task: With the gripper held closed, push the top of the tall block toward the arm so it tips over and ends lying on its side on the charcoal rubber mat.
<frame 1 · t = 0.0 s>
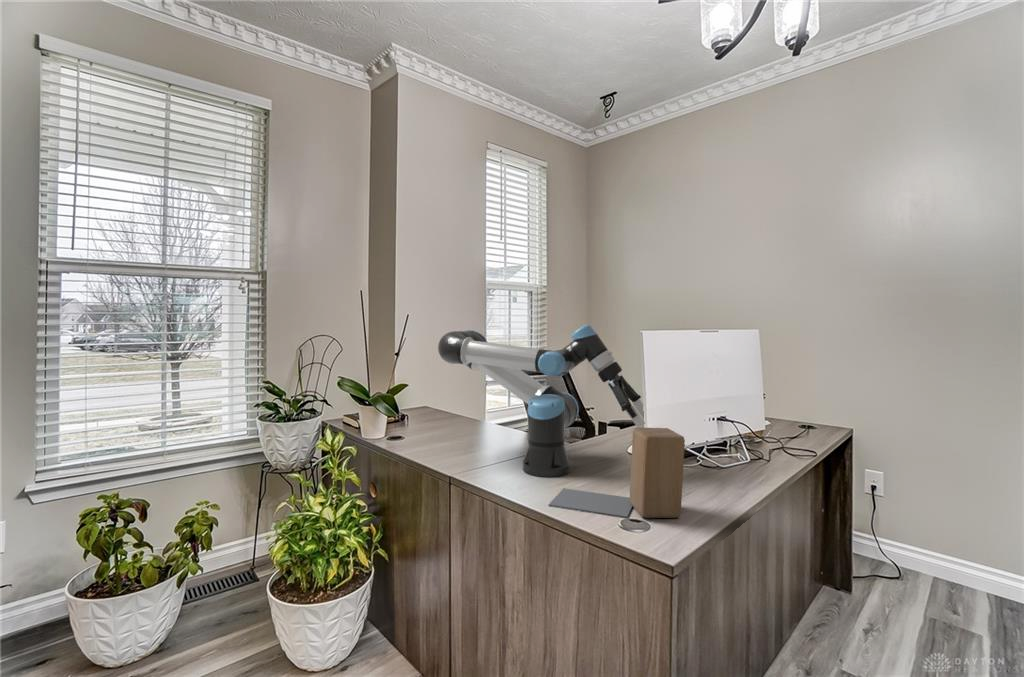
hand: (644, 421, 154), 15 cm above the table, tool tilted 35°, fingers open, 13 cm apart
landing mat: (592, 502, 125), on the table
block: (654, 511, 119), on the table, touching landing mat
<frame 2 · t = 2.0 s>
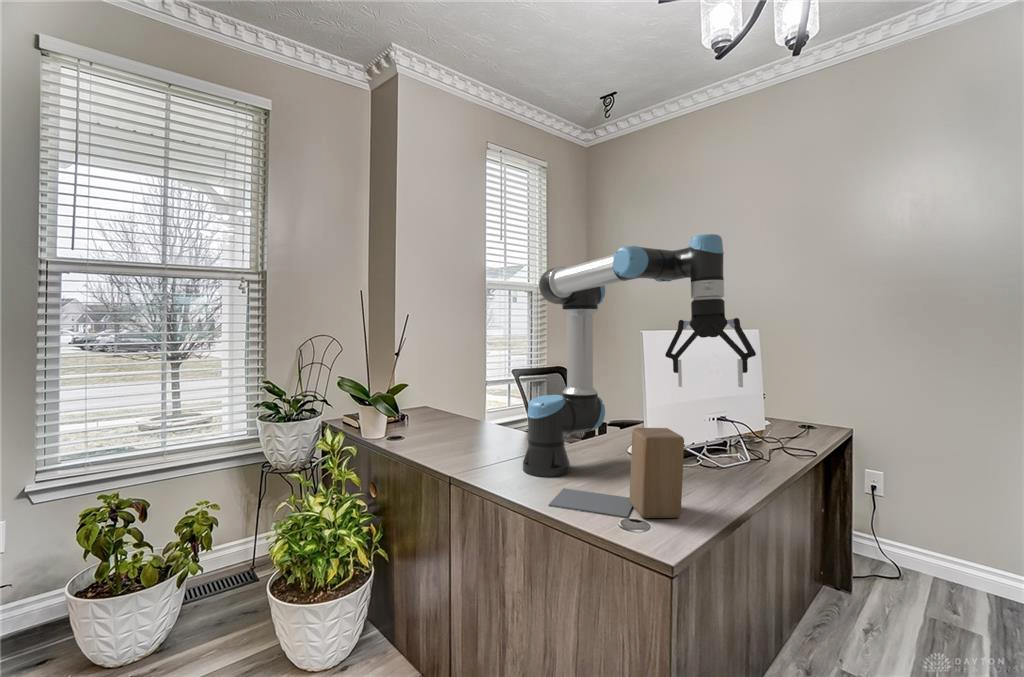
hand: (709, 386, 116), 32 cm above the table, tool pointing down, fingers open, 13 cm apart
nothing on the table moved.
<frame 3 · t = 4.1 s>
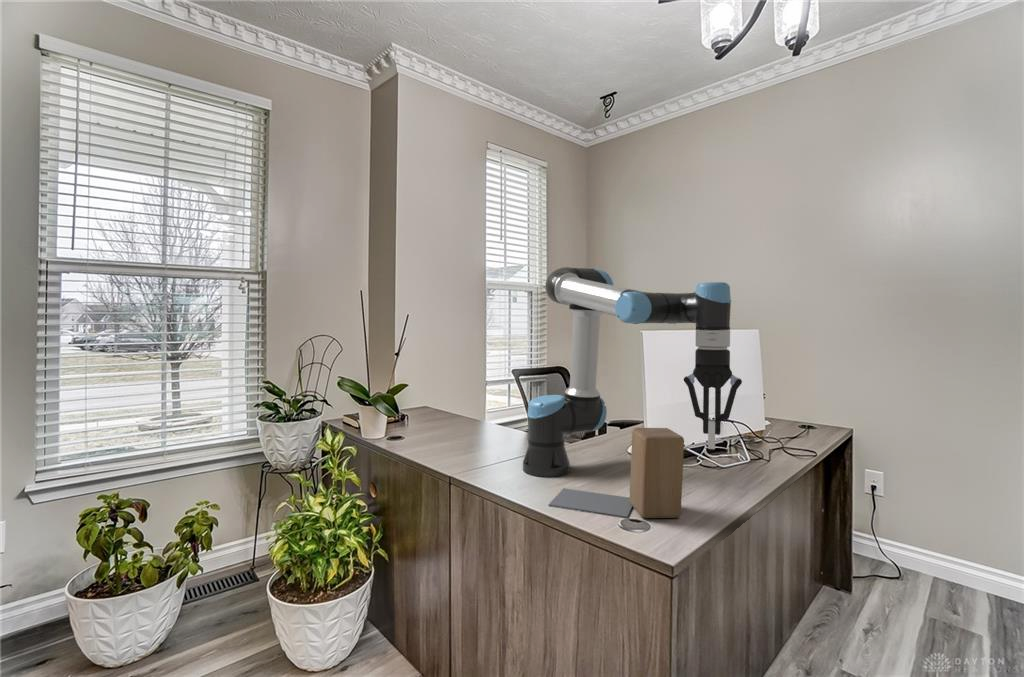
hand: (711, 447, 113), 17 cm above the table, tool pointing down, fingers closed
nothing on the table moved.
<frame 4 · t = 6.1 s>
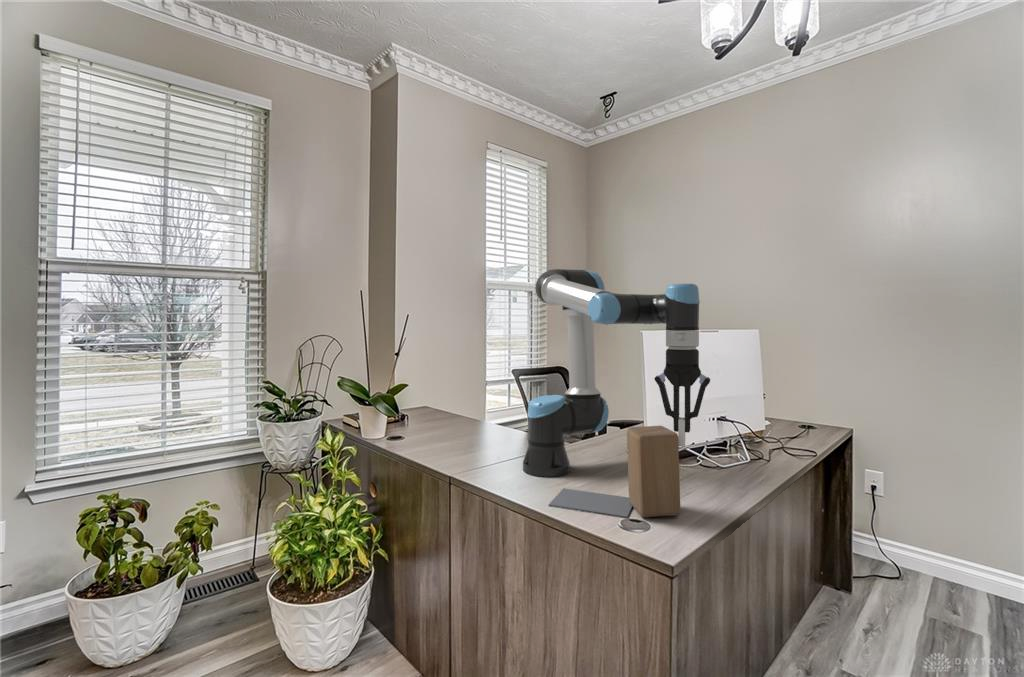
hand: (681, 445, 116), 17 cm above the table, tool pointing down, fingers closed
block: (654, 510, 119), on the table, touching gripper, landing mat
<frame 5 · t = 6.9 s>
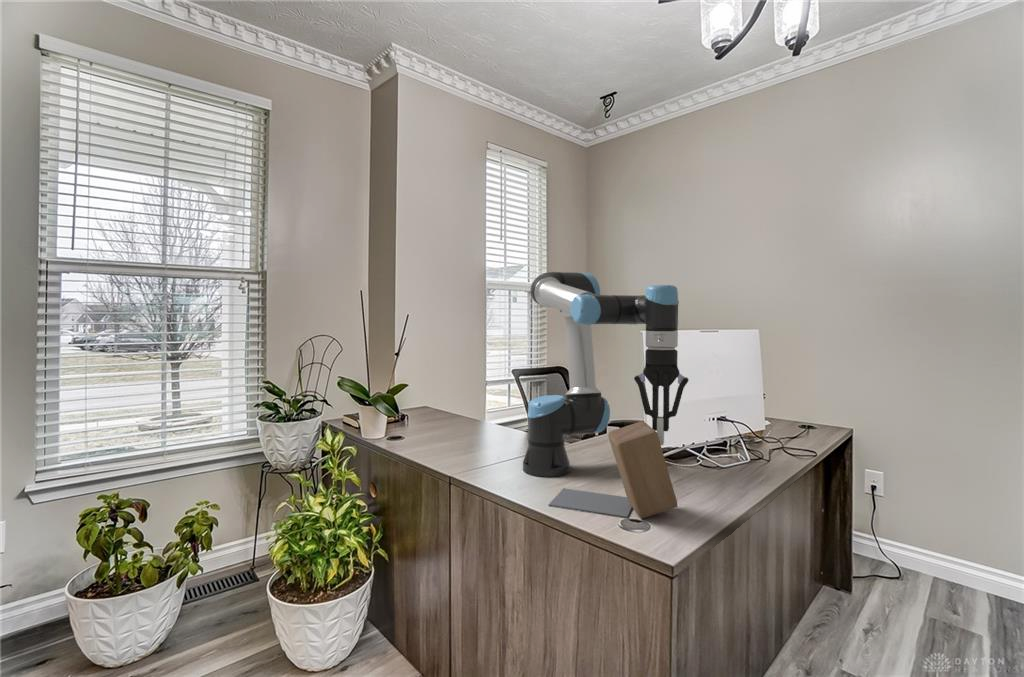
hand: (660, 443, 118), 17 cm above the table, tool pointing down, fingers closed
block: (653, 505, 119), point 2 cm above the table, touching gripper, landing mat
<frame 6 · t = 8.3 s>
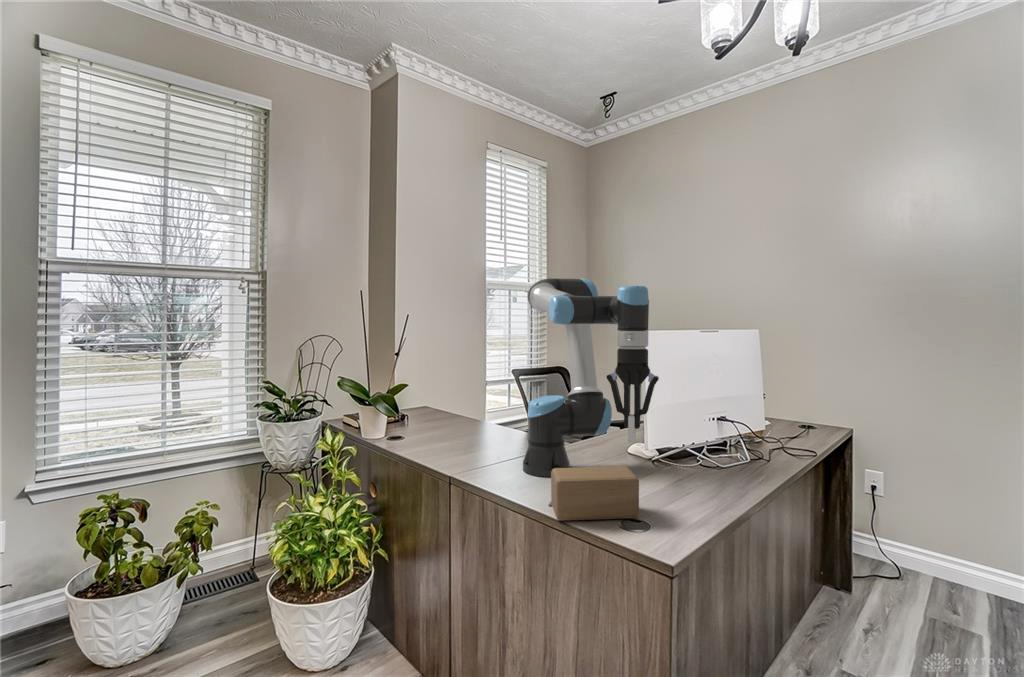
hand: (631, 440, 121), 17 cm above the table, tool pointing down, fingers closed
block: (634, 491, 118), point 5 cm above the table, touching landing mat
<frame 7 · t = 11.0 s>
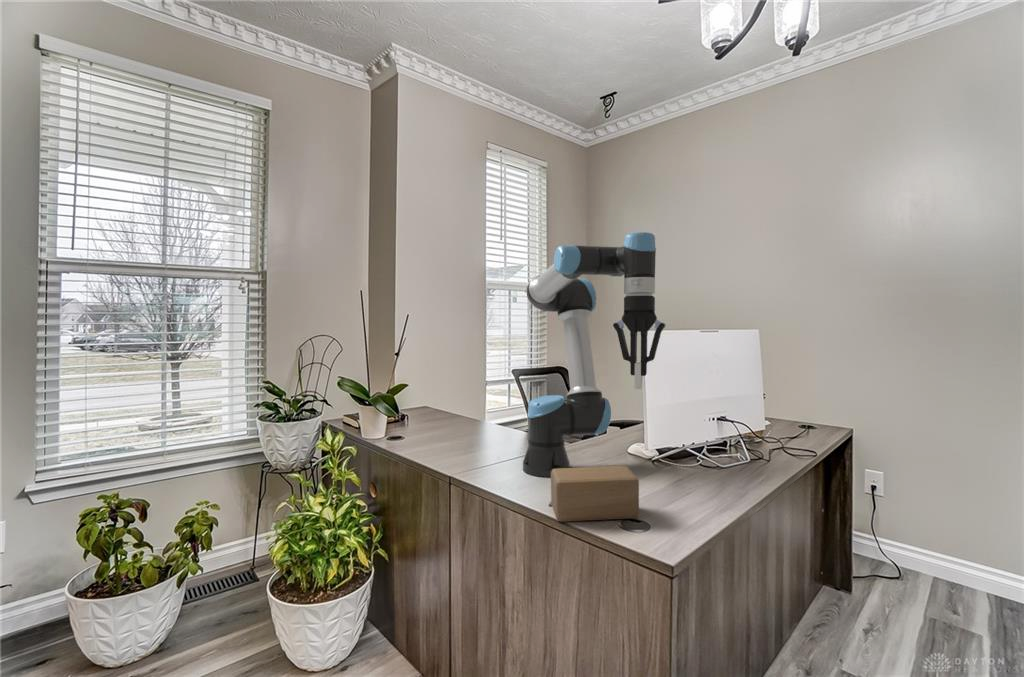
hand: (638, 388, 121), 30 cm above the table, tool pointing down, fingers closed
nothing on the table moved.
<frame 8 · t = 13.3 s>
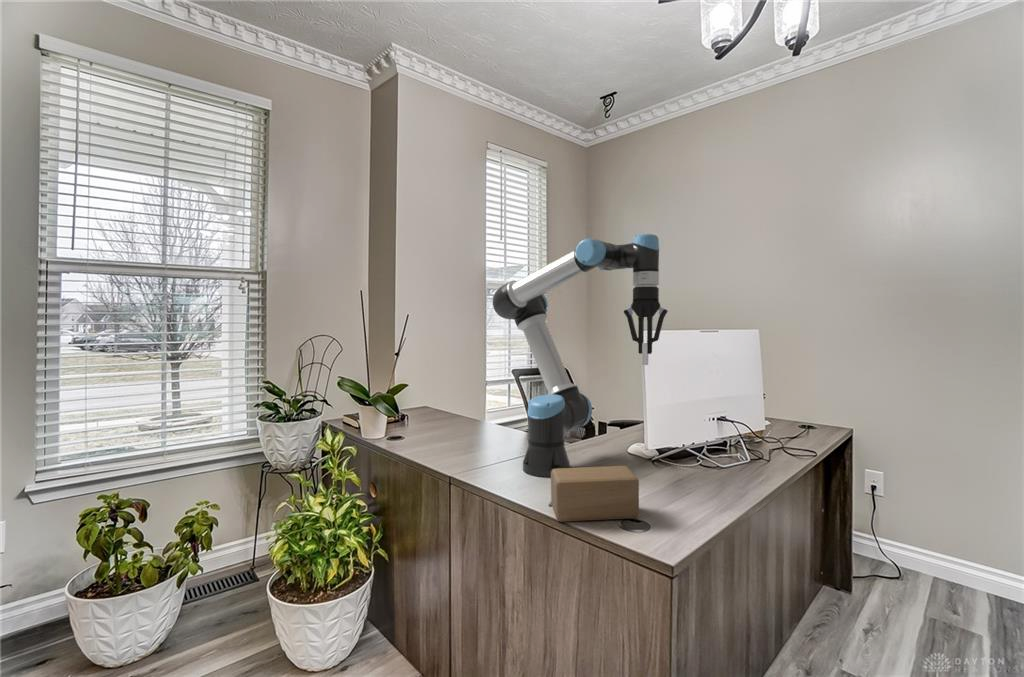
hand: (645, 364, 145), 34 cm above the table, tool pointing down, fingers closed
block: (634, 490, 118), point 6 cm above the table, touching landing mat
at the end: block tilted 91°; block touching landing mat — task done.
